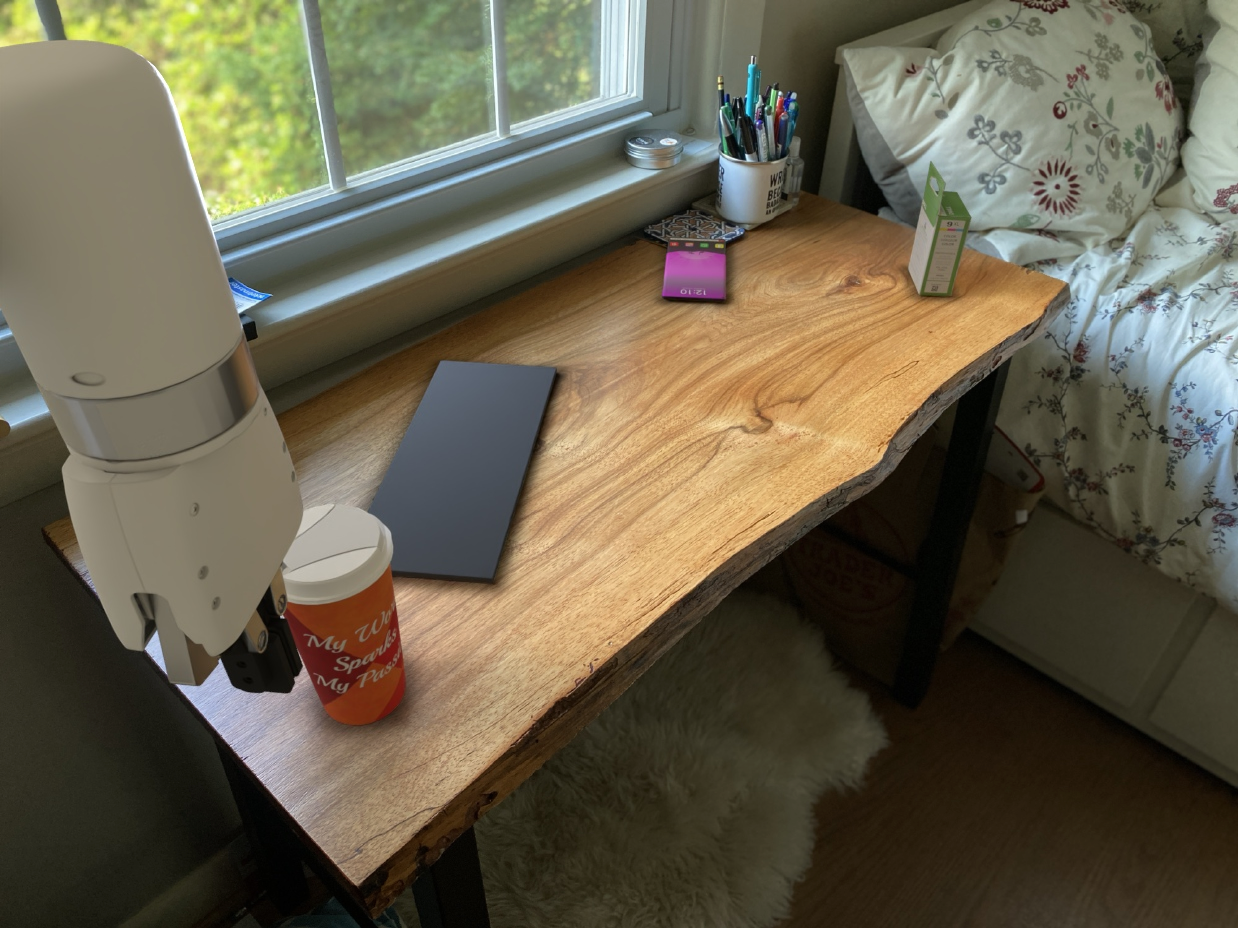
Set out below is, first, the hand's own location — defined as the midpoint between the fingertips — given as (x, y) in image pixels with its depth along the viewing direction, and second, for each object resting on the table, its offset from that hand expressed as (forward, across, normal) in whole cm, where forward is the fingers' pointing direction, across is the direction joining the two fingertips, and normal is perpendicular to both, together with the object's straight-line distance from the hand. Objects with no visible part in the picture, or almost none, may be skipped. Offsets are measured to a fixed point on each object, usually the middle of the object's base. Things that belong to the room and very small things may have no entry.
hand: (269, 678), depth 48 cm
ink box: (+14, -74, +46) cm, 88 cm away
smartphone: (+13, -73, +19) cm, 77 cm away
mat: (+13, -35, 0) cm, 37 cm away
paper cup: (+13, -9, 0) cm, 16 cm away
